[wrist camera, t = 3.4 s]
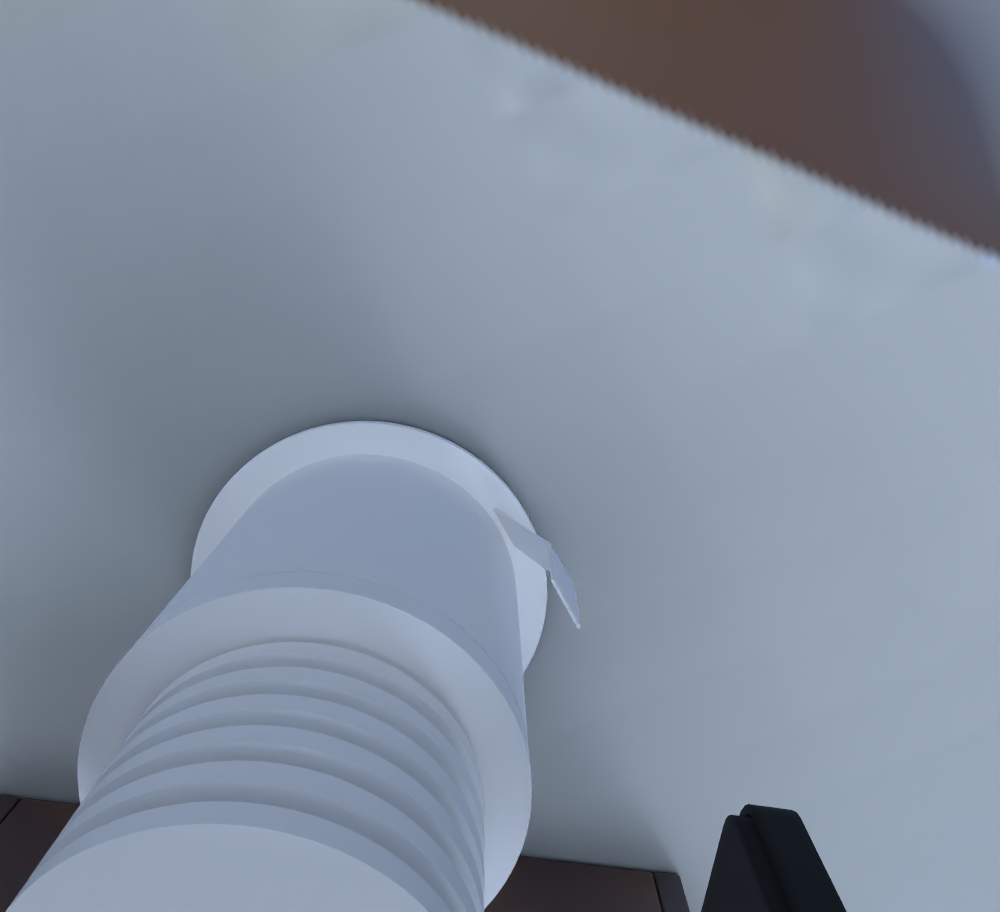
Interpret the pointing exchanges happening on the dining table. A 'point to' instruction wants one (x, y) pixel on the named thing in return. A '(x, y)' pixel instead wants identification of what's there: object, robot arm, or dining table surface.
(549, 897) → the spice shelf
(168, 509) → the dining table surface
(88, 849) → the downlight
